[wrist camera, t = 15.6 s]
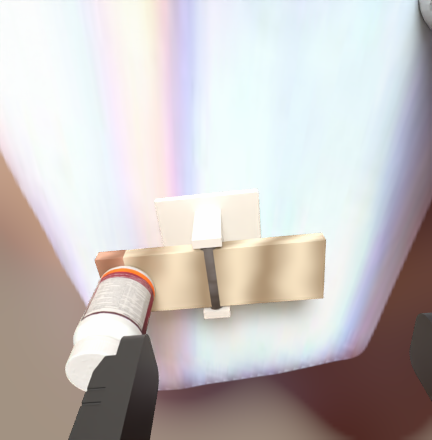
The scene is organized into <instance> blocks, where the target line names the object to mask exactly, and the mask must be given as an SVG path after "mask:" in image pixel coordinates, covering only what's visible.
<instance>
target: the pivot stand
mask: <svg viewBox="0 0 432 440" xmlns="http://www.w3.org/2000/svg"><path fill="white" fill-rule="evenodd" d="M154 203H155V208H156V212H157V217H158V222H159V227H160V231H161V236H162V241H163V246H164V247H167V246H178V245H189V244H192V246H193V249H200V248H210V247H221V246H222V242H223V241H235V240H246V239H257V238H261V229H260V212H259V194H258V189H248V190H238V191H228V192H218V193H208V194H198V195H187V196H177V197H167V198H157V199H155V202H154ZM203 313H204V319H212V318H224V317H231V316H230V306H223V307H222V308H220V309H216V310H215V309H211V308H210V307H204V311H203Z"/></svg>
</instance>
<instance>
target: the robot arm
mask: <svg viewBox="0 0 432 440" xmlns="http://www.w3.org/2000/svg"><path fill="white" fill-rule="evenodd" d="M419 3H420V10H421V13H422V16H423V18H424V21H425V22H426V23H427V25H428V26H429V27H430V29H431V30H432V0H419ZM410 360H411V364H412V367H413V369H414V371H415V373H416V375H417V377H418V378H419V380H420V382H421V384H422V385H423V387H424V389H425V390H426V392H427V394H428V395H429V397H430V399H431V401H432V313H422V314H419V315H418V316H417V318H416V322H415V327H414V332H413V336H412V341H411V346H410ZM158 384H159V375H158V367H157V363H156V360H155V356H154V353H153V349H152V345H151V342H150V338H149V336H148V335H147V334H144V335H132V336H123V337H122V338H121V340H120V343H119V346H118V349H117V353H116V355H109V356H105V357H104V358H103V359H102V361H101V362H100V363H99V364H98V366H97V367H96V368H95V369H94V371H93V373H92V376H91V378H90V381H89V384H88V387H87V392H85V395H84V398H83V400H82V406H81V407H80V409H79V412H78V414H77V417H76V420H75V423H74V425H73V428H72V431H71V434H70V436H69V439H68V440H150V435H151V429H152V423H153V417H154V411H155V405H156V399H157V392H158Z"/></svg>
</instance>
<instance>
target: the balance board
mask: <svg viewBox="0 0 432 440" xmlns="http://www.w3.org/2000/svg"><path fill="white" fill-rule="evenodd" d="M325 249H326V240H325V238H324V236H323V234H322V233H314V234H302V235H291V236H280V237H268V238H257V239H246V240H235V241H223V242H222V246H221V247H210V248H200V249H193V246H192V244H189V245H178V246H167V247H156V248H144V249H133V250H119V251H107V252H99V253H98V255H97V257H96V259H95V263H96V266H97V269H98V272H99V275H100V278H101V277H102V276H103V274H104V273H105V272H107V271H108V270H110V269H112V268H115V267H119V266H130V267H135V268H137V269H139V270H141V271H143V272H144V273H146V274H147V275H148V276H149V277H150V278H151V280H152V281H153V284H154V287H155V297H154V301H153V305H152V309H151V312H153V311H166V310H179V309H191V308H204V307H210V308H211V309H215V310H216V309H220V308H222V307H223V306H230V305H243V304H255V303H268V302H281V301H294V300H307V299H320V298H323V292H324V270H325Z"/></svg>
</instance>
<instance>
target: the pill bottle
mask: <svg viewBox="0 0 432 440" xmlns="http://www.w3.org/2000/svg"><path fill="white" fill-rule="evenodd" d="M154 297H155V287H154V284H153V281H152V280H151V278H150V277H149V276H148V275H147V274H146V273H144V272H143V271H141V270H139V269H137V268H135V267H130V266H119V267H115V268H112V269H110V270H108V271H107V272H105V273H104V274H103V276H102V277H101V278H100V280H99V282H98V285H97V287H96V289H95V291H94V293H93V295H92V297H91V299H90V301H89V304H88V306H87V308H86V310H85V312H84V314H83V316H82V318H81V320H80V322H79V324H78V326H77V328H76V331H75V333H74V337H73V344H74V348H73V350H72V352H71V355H70V357H69V359H68V361H67V364H66V368H65V372H66V375H67V377H68V379H69V381H70V382H71V383H72V384H73V385H75V386H76V387H77V388H79V389H81V390H83V391H86V392H87V387H88V384H89V381H90V378H91V376H92V373H93V371H94V369H95V368H96V367H97V366H98V364H99V363H100V362H101V361H102V359H103V358H104V357H105V356H109V355H116V353H117V349H118V346H119V343H120V340H121V338H122V337H123V336H132V335H144V334H146V329H147V326H148V322H149V317H150V313H151V309H152V305H153V301H154Z"/></svg>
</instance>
